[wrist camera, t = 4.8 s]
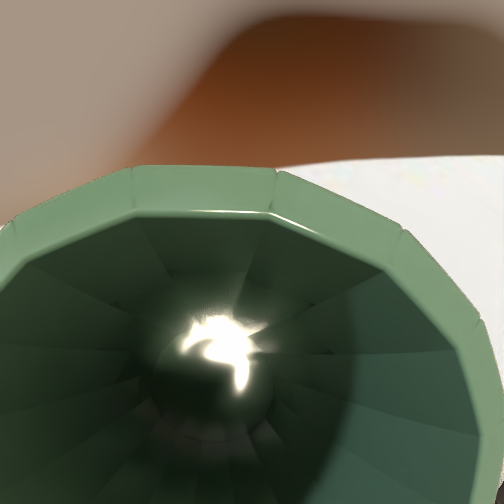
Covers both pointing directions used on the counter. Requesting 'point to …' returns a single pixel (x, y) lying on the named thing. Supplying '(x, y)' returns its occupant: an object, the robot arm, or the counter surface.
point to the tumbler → (236, 350)
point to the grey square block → (500, 495)
